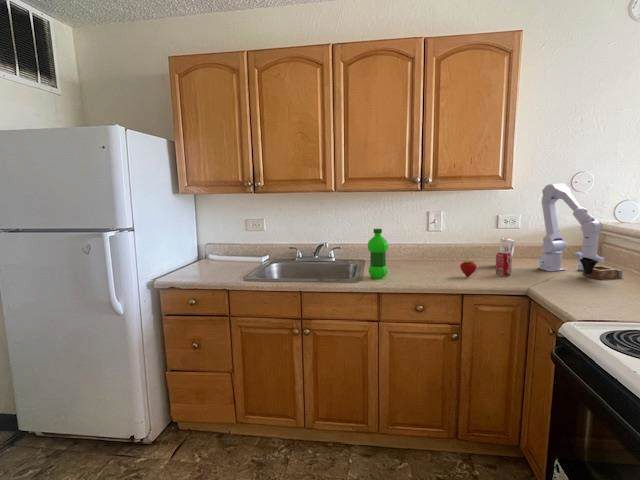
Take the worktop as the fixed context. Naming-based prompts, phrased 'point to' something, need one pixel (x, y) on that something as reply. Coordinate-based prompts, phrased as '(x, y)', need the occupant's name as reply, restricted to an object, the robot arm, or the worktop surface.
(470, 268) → the strawberry
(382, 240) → the plastic bottle
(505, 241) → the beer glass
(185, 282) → the worktop surface
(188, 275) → the worktop surface
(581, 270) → the grey rectangular block
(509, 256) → the soda can
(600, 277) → the square wooden frame
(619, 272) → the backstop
